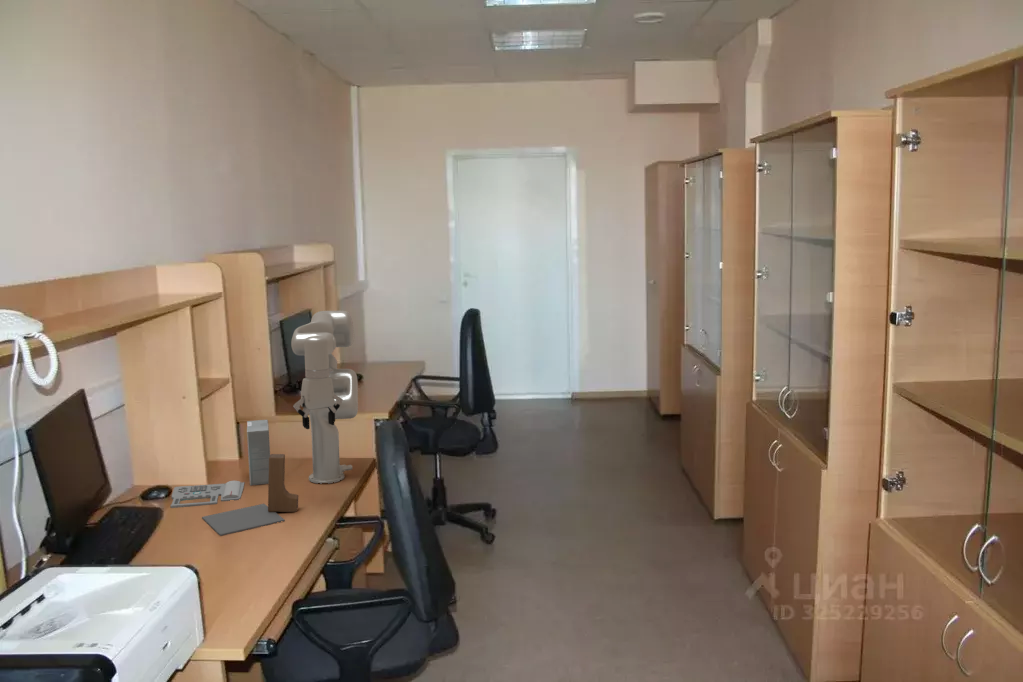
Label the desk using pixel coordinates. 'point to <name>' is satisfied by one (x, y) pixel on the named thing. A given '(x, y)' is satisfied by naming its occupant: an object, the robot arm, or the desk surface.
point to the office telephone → (207, 493)
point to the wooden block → (279, 487)
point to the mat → (242, 519)
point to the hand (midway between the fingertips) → (319, 426)
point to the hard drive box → (258, 451)
